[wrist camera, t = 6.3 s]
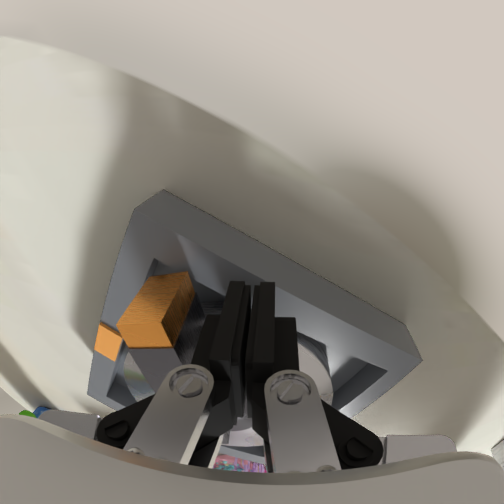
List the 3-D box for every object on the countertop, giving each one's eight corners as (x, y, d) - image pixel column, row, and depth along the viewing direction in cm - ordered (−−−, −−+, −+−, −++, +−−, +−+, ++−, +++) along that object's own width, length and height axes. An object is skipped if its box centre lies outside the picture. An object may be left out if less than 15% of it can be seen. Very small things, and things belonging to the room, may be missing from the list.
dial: (329, 420, 17) (335, 478, 13) (176, 426, 19) (162, 476, 15) (319, 232, 11) (344, 302, 7) (82, 270, 13) (29, 326, 9)
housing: (405, 325, 16) (424, 362, 12) (270, 436, 22) (269, 467, 19) (163, 189, 13) (131, 210, 10) (102, 366, 20) (85, 396, 16)
